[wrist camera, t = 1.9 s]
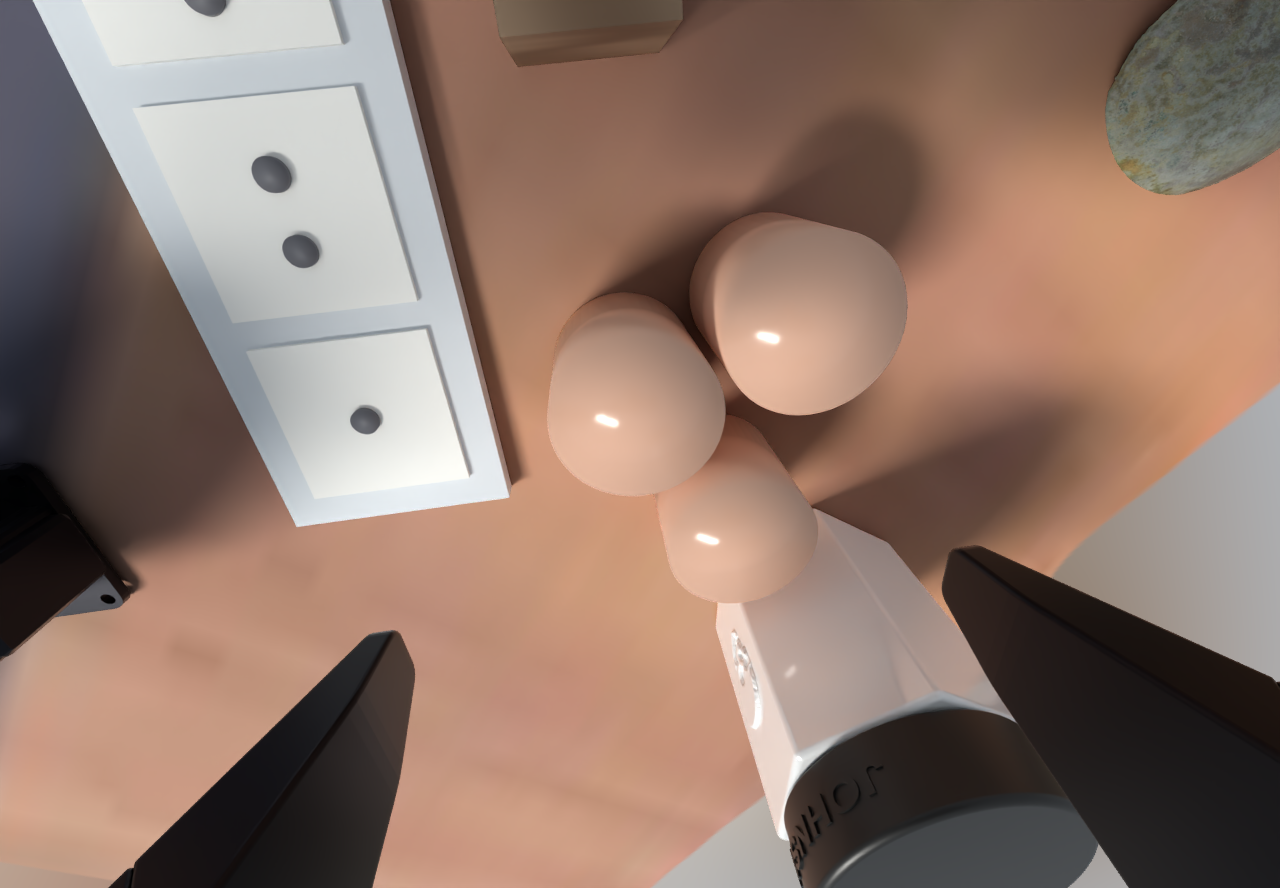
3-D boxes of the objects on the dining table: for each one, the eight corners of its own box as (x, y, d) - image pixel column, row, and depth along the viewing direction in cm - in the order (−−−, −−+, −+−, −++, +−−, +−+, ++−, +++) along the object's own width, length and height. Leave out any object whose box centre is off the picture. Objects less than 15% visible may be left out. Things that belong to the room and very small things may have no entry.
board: (306, 514, 21) (291, 533, 20) (-101, -327, 11) (-175, -381, 10) (511, 486, 21) (508, 503, 20) (301, -352, 11) (272, -407, 10)
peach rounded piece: (654, 526, 23) (673, 613, 18) (644, 422, 20) (662, 492, 16) (768, 510, 23) (813, 592, 19) (770, 405, 21) (823, 470, 16)
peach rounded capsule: (566, 432, 20) (563, 506, 16) (542, 301, 18) (530, 346, 14) (695, 415, 21) (727, 483, 16) (688, 283, 18) (723, 322, 14)
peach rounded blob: (692, 366, 20) (723, 425, 15) (685, 220, 17) (720, 240, 13) (824, 350, 20) (894, 404, 15) (836, 203, 17) (921, 217, 13)
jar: (719, 511, 23) (841, 812, 12) (900, 499, 23) (1163, 774, 13) (707, 657, 27) (791, 975, 16) (861, 643, 28) (1037, 939, 17)
